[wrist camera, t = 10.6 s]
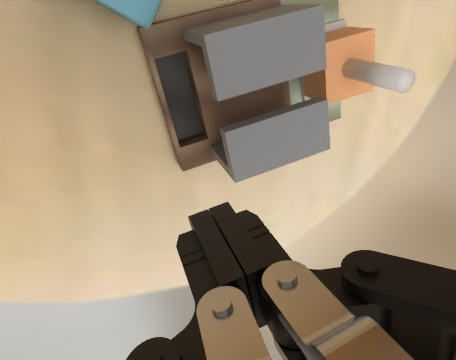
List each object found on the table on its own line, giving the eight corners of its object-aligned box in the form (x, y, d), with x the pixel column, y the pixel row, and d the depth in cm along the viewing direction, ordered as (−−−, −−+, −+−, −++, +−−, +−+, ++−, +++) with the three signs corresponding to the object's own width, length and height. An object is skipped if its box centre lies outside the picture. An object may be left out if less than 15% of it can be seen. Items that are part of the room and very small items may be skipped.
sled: (297, 31, 37) (378, 41, 27) (343, 18, 39) (439, 23, 28) (302, 100, 42) (375, 133, 31) (344, 87, 43) (428, 114, 32)
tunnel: (182, 29, 34) (203, 35, 27) (280, 4, 36) (323, 4, 29) (212, 153, 41) (235, 182, 34) (293, 126, 43) (329, 148, 36)
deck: (136, 27, 34) (139, 28, 32) (324, -19, 39) (337, -21, 37) (178, 163, 43) (182, 171, 40) (329, 112, 47) (340, 117, 45)
